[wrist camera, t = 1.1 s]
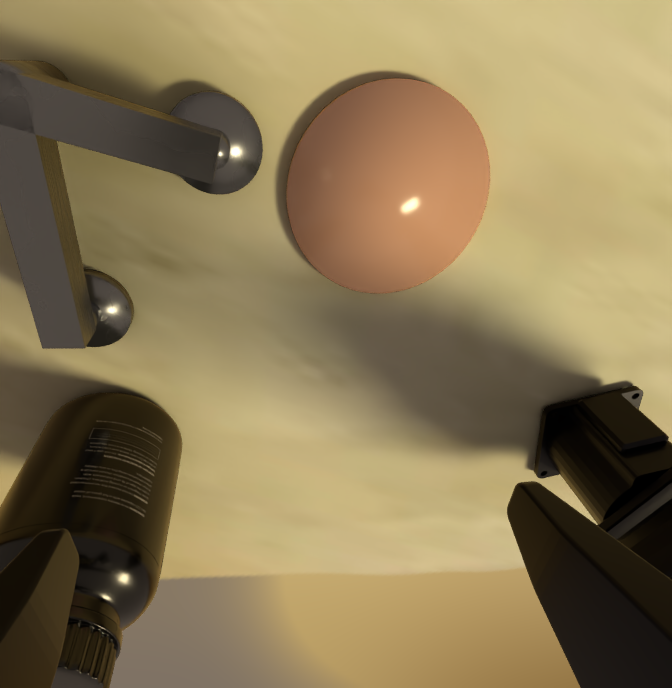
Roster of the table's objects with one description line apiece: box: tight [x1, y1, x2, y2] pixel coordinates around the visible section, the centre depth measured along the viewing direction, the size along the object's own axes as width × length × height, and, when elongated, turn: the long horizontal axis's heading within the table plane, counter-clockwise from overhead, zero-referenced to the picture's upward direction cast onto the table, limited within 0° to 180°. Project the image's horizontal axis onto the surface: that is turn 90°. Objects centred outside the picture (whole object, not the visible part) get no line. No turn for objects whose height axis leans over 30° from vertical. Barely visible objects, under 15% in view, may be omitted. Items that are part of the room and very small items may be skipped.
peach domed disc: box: [286, 78, 490, 293], centre depth 19 cm, size 9×9×1 cm
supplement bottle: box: [0, 392, 182, 688], centre depth 19 cm, size 7×7×12 cm
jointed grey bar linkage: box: [0, 60, 263, 348], centre depth 17 cm, size 11×11×4 cm
